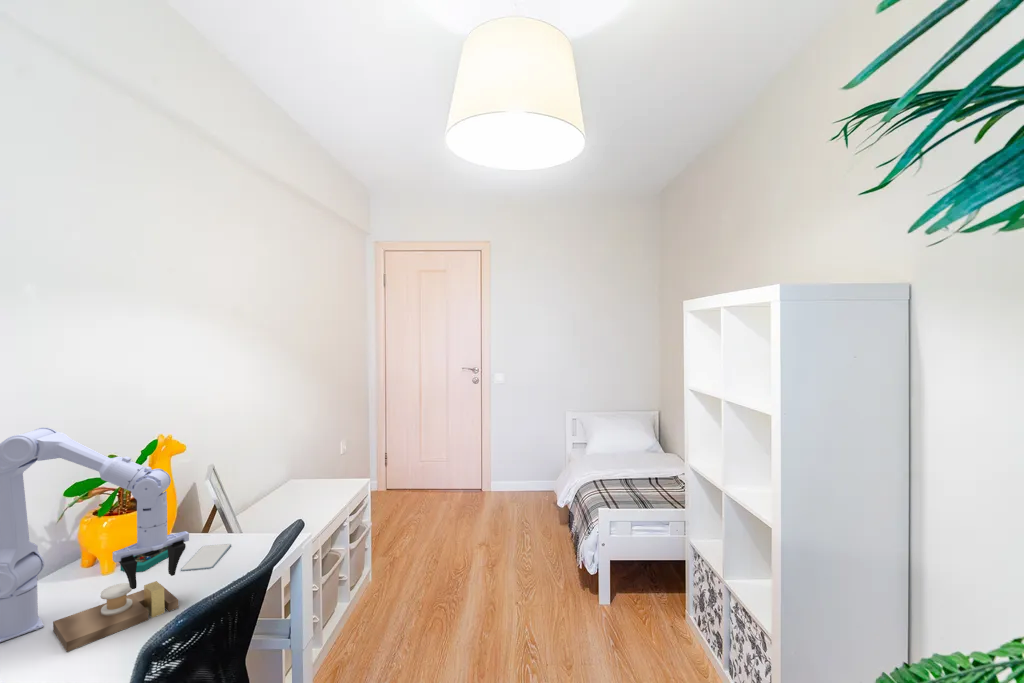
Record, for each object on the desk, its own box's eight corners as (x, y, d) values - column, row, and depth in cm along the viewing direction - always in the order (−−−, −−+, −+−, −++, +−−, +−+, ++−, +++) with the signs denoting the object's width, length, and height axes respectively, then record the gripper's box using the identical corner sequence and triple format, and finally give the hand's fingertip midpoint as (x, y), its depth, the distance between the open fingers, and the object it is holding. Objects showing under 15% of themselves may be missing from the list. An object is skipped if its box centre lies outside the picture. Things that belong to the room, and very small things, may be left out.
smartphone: (179, 570, 134) (202, 545, 148) (179, 573, 134) (202, 548, 148) (212, 567, 135) (232, 543, 150) (212, 570, 135) (232, 546, 150)
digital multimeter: (117, 573, 134) (117, 562, 134) (162, 549, 148) (162, 539, 148) (141, 574, 133) (141, 563, 133) (184, 550, 148) (184, 540, 148)
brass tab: (151, 617, 112) (151, 592, 112) (144, 610, 115) (144, 585, 115) (164, 612, 114) (164, 587, 114) (157, 605, 117) (156, 581, 117)
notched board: (66, 652, 100) (66, 642, 100) (53, 630, 107) (53, 621, 107) (178, 607, 116) (178, 599, 116) (160, 591, 123) (160, 583, 123)
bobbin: (105, 618, 108) (104, 598, 108) (97, 610, 112) (97, 590, 111) (135, 607, 113) (135, 588, 113) (127, 599, 116) (127, 580, 116)
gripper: (119, 538, 106) (119, 599, 106) (193, 518, 118) (194, 573, 118) (109, 530, 110) (110, 589, 111) (182, 511, 122) (183, 565, 122)
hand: (152, 580), depth 115 cm, fingers open, 7 cm apart
